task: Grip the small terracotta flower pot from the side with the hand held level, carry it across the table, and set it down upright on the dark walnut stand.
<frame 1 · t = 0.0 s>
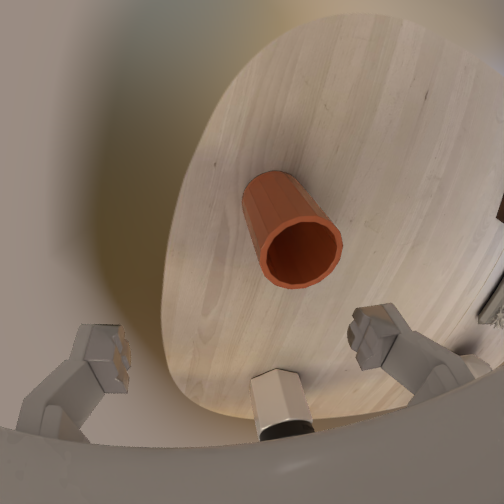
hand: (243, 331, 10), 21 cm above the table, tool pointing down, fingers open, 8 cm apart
sphere: (441, 366, 61), on the table
pot: (273, 201, 31), on the table
jar: (273, 382, 49), on the table
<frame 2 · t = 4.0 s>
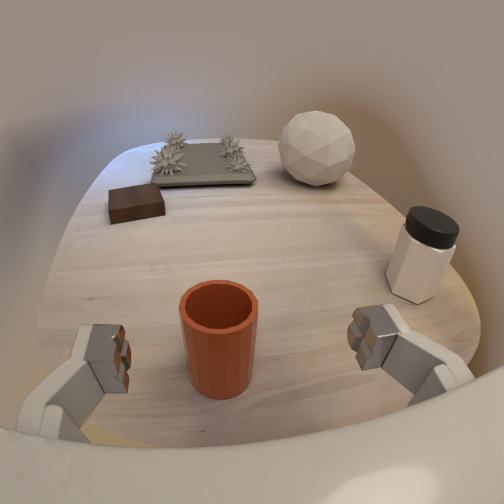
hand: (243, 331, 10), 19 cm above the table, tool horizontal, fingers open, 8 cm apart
sphere: (312, 182, 80), on the table
pot: (220, 373, 31), on the table
decorative tray: (200, 167, 86), on the table
stand: (135, 208, 62), on the table
jar: (409, 287, 45), on the table
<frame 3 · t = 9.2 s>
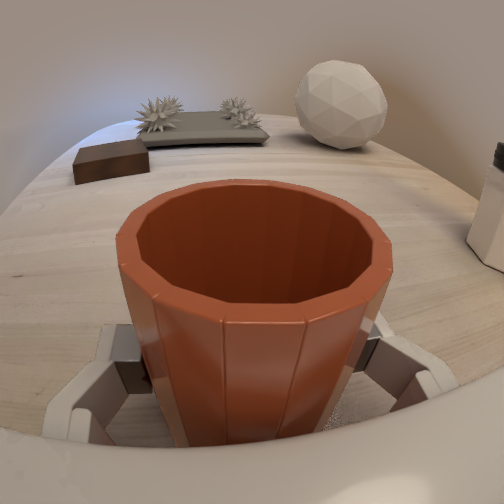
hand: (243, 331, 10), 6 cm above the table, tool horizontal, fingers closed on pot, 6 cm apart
sphere: (335, 146, 63), on the table
pot: (243, 424, 13), on the table, touching gripper
decorative tray: (197, 132, 68), on the table
stand: (111, 167, 44), on the table
jar: (496, 257, 27), on the table
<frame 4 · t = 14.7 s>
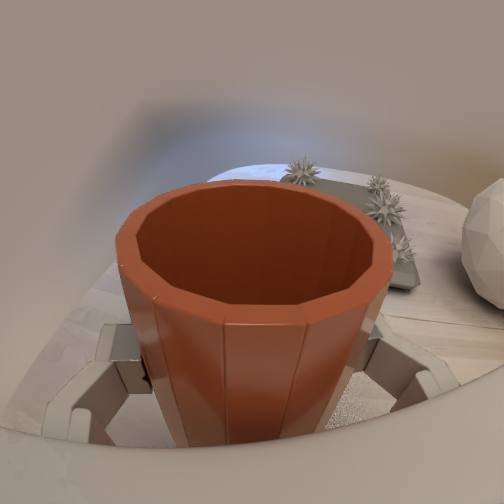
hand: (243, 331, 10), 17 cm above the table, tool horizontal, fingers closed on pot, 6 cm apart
sphere: (493, 295, 38), on the table
pot: (243, 425, 13), point 11 cm above the table, touching gripper
decorative tray: (331, 226, 54), on the table
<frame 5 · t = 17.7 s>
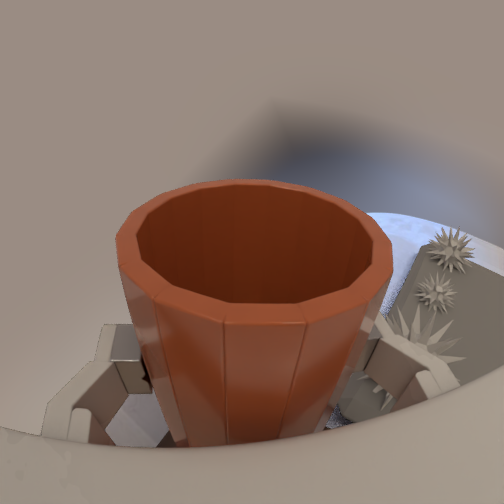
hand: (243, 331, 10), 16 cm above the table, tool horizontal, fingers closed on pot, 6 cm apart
pot: (243, 424, 13), point 10 cm above the table, touching gripper
decorative tray: (473, 350, 29), on the table
when the fingers open (8 cm above the table, at t = 20.3 s): pot stays where it is, resting on stand.
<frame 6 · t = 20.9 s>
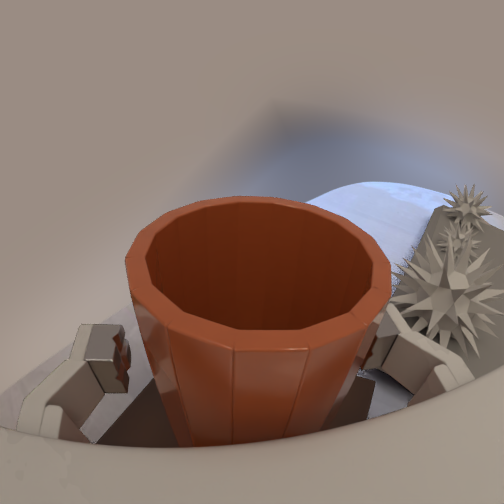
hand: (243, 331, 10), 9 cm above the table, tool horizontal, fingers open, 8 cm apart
pot: (246, 430, 13), point 3 cm above the table, touching stand
decorative tray: (501, 307, 25), on the table
stand: (241, 450, 15), on the table
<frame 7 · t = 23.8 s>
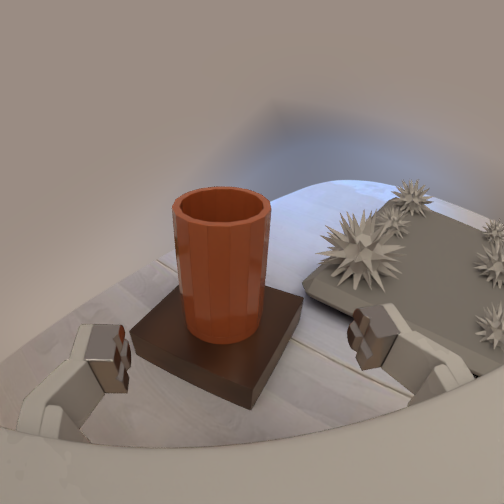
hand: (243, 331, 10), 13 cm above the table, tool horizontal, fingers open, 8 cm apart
pot: (222, 315, 26), point 3 cm above the table, touching stand
decorative tray: (432, 273, 38), on the table
stand: (221, 339, 27), on the table
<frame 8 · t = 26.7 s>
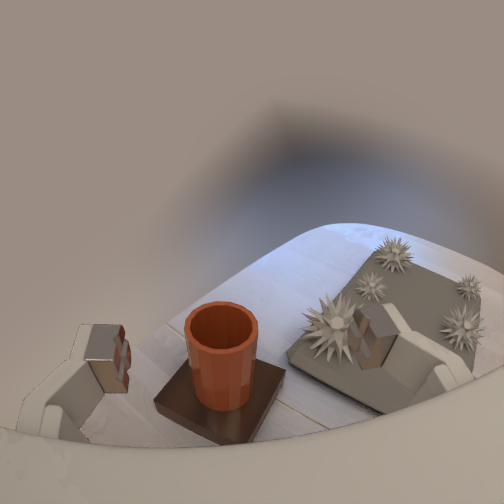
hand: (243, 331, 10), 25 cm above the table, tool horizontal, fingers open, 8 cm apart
pot: (223, 387, 32), point 3 cm above the table, touching stand
decorative tray: (403, 331, 44), on the table
stand: (222, 399, 34), on the table
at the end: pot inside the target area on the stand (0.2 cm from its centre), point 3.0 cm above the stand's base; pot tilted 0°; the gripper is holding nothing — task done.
